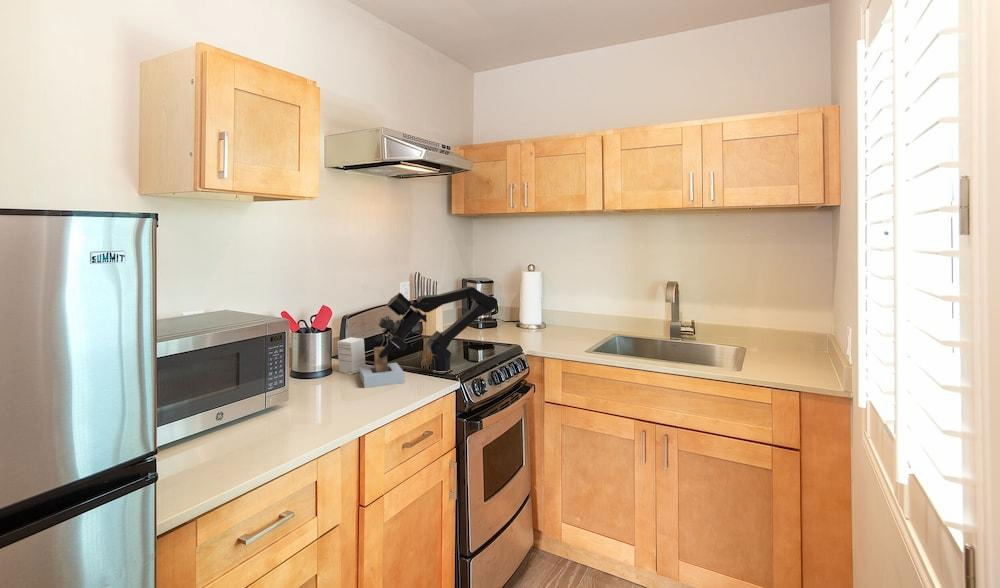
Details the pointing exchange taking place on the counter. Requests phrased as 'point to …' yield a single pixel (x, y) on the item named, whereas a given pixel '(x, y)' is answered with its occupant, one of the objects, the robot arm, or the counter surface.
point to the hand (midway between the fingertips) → (378, 355)
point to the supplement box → (351, 355)
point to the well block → (381, 376)
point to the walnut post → (380, 360)
